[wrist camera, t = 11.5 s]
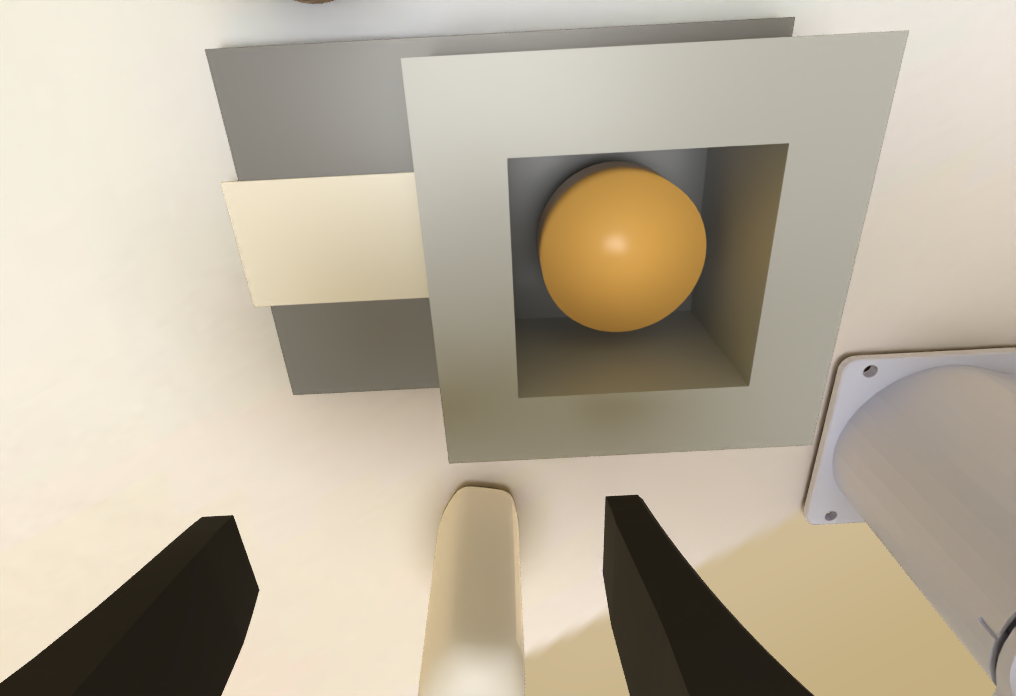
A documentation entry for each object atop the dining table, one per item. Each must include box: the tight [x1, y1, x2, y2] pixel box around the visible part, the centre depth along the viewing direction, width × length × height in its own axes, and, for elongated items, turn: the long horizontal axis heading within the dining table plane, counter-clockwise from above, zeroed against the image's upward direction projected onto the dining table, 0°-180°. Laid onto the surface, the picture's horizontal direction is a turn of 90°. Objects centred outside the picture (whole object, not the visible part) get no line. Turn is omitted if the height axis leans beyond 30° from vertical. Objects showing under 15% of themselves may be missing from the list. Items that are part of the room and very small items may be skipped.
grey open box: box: [205, 17, 909, 464], centre depth 16 cm, size 16×11×6 cm, turn 93°
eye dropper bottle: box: [418, 486, 525, 696], centre depth 20 cm, size 4×6×12 cm
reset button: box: [537, 161, 706, 332], centre depth 16 cm, size 4×4×2 cm
